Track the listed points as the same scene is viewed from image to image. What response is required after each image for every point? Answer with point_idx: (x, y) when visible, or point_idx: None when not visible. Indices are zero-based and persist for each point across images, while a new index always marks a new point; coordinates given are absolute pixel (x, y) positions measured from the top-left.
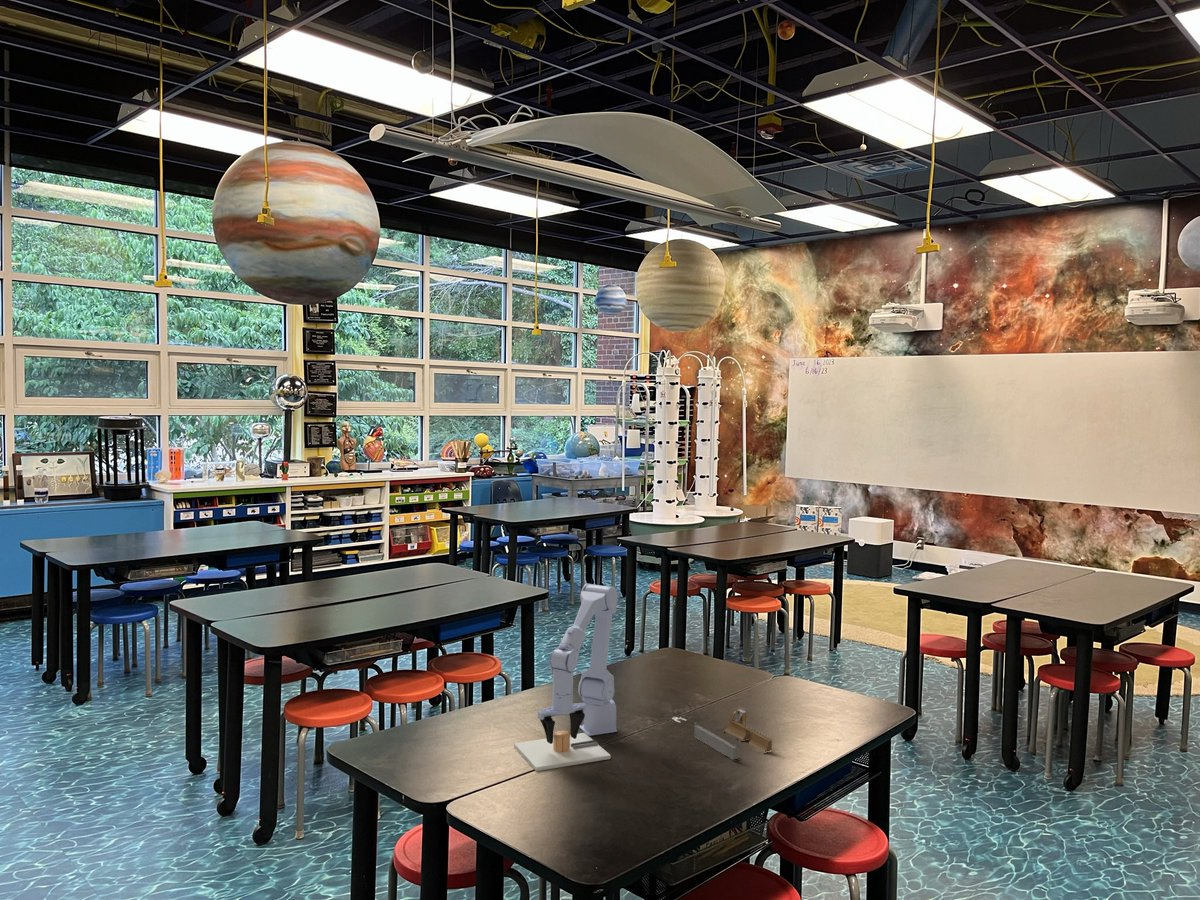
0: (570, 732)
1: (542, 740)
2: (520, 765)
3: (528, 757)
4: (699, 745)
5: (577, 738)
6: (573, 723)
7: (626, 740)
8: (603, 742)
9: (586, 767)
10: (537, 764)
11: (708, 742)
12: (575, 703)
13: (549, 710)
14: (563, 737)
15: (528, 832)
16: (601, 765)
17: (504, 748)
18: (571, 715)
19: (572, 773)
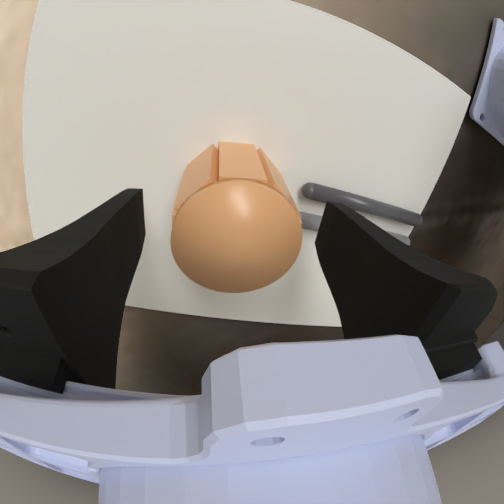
0: (338, 208)
1: (212, 4)
2: (9, 211)
3: (32, 198)
4: (497, 322)
5: (406, 122)
6: (361, 293)
7: (489, 232)
8: (451, 199)
9: (230, 332)
10: None
11: (500, 333)
12: (492, 407)
13: (50, 461)
14: (213, 284)
15: None
16: (283, 338)
17: (11, 3)
18: (405, 311)
19: (163, 341)
